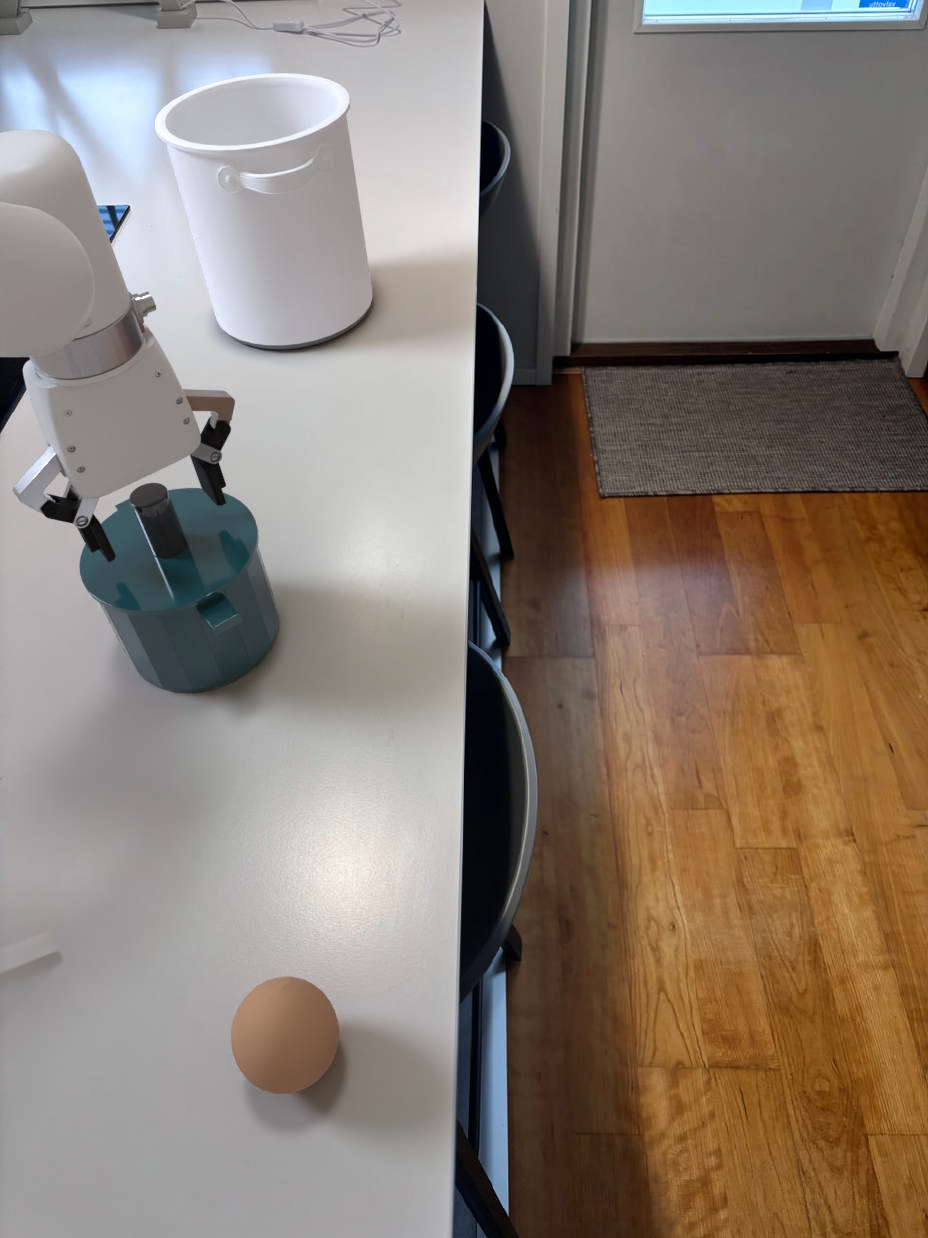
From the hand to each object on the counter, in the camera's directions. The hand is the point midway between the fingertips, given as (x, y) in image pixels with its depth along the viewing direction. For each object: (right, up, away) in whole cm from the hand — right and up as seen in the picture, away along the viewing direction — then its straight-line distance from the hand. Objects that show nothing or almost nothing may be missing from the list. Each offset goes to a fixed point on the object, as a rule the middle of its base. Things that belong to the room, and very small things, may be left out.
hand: (161, 523), depth 76 cm
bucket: (+3, +32, +47) cm, 57 cm away
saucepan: (+1, -9, +10) cm, 13 cm away
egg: (+14, -36, -15) cm, 41 cm away
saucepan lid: (0, -2, +2) cm, 3 cm away
